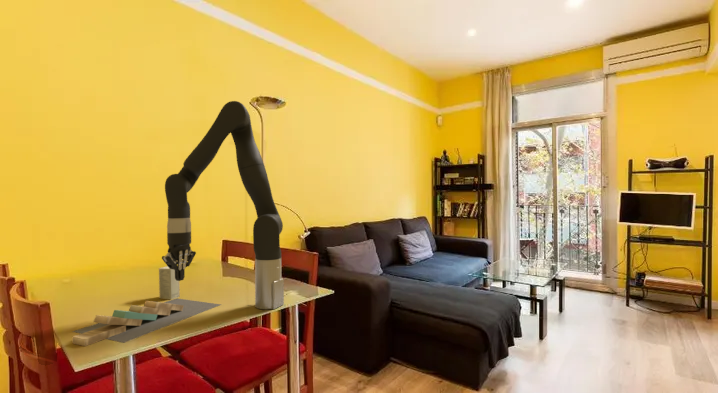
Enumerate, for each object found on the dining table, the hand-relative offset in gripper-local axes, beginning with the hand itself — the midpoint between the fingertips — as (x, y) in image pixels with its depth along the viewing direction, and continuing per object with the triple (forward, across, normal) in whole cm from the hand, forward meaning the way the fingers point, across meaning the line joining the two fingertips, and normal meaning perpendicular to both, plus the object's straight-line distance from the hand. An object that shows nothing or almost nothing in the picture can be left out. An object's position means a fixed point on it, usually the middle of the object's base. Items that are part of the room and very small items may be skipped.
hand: (179, 280), depth 123 cm
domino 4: (+9, -6, 0) cm, 11 cm away
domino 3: (+9, -12, 0) cm, 15 cm away
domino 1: (+9, -22, 0) cm, 23 cm away
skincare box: (+10, +9, +15) cm, 21 cm away
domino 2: (+9, -17, 0) cm, 19 cm away
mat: (+10, -9, +1) cm, 14 cm away
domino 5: (+9, -1, 0) cm, 9 cm away
